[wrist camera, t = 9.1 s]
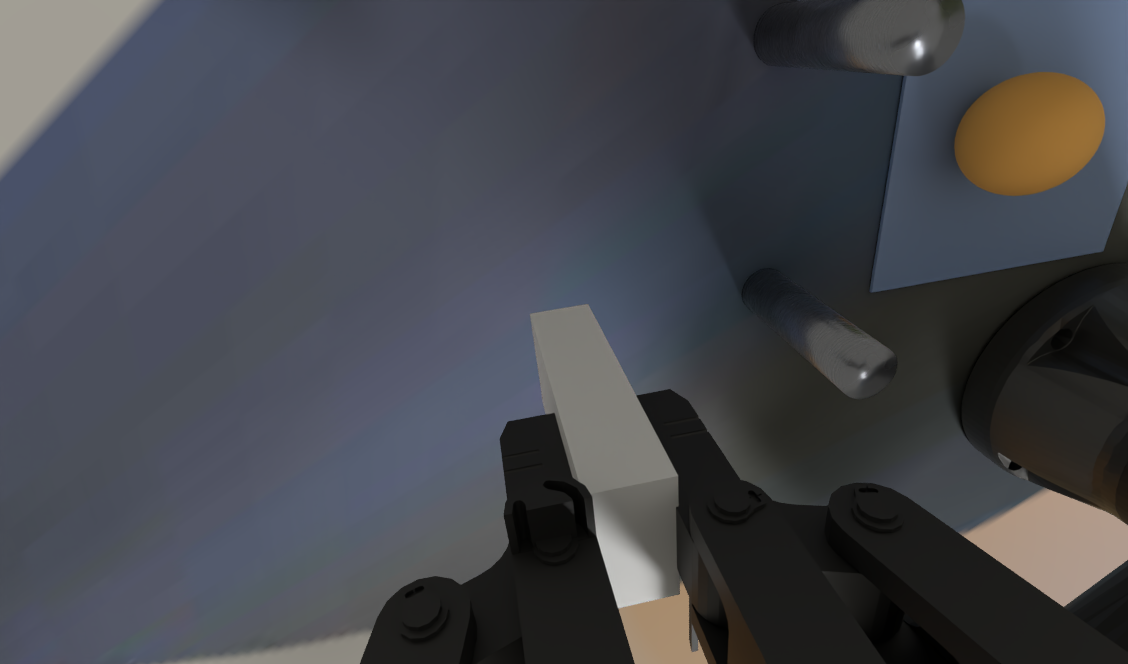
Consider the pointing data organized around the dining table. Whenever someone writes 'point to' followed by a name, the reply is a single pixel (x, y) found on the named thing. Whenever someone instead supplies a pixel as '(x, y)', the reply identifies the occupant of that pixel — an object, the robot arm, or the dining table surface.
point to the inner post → (821, 334)
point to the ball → (1029, 133)
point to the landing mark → (975, 216)
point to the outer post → (861, 35)
